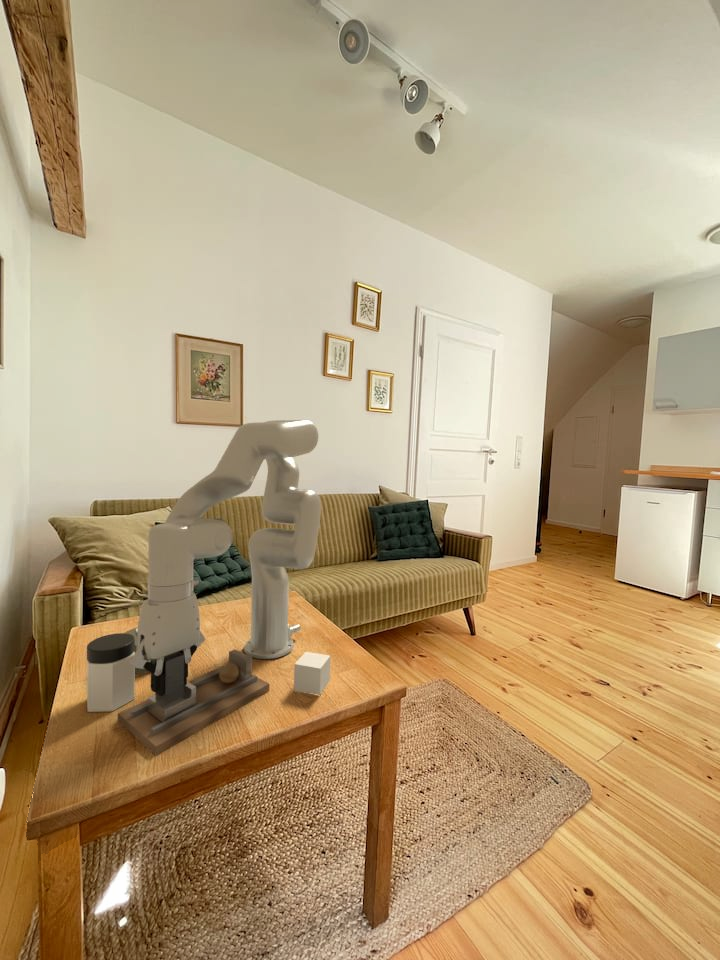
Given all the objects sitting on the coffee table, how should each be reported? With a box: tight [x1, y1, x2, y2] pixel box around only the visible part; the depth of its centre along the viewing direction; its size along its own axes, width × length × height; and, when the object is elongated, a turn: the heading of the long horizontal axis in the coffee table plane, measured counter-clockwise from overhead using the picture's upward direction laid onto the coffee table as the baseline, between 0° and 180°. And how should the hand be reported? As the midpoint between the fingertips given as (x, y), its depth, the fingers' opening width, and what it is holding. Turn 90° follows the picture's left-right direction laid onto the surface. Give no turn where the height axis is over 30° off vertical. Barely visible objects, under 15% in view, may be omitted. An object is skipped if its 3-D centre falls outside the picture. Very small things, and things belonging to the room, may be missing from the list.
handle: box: [147, 651, 196, 722], centre depth 73 cm, size 6×6×10 cm
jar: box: [86, 632, 136, 713], centre depth 79 cm, size 9×8×12 cm
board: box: [117, 649, 270, 756], centre depth 78 cm, size 24×14×6 cm, turn 144°
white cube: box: [293, 651, 331, 695], centre depth 86 cm, size 6×6×6 cm
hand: (169, 687), depth 73 cm, fingers closed on handle, 3 cm apart
